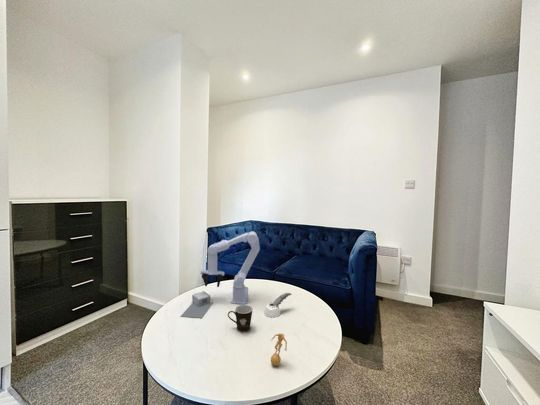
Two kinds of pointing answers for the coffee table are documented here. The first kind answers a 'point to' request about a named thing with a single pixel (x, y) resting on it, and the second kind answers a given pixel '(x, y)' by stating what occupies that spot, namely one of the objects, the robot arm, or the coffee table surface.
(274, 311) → the inkwell
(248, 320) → the coffee mug
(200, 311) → the mat
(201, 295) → the medicine box
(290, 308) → the coffee table surface
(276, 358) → the figurine
